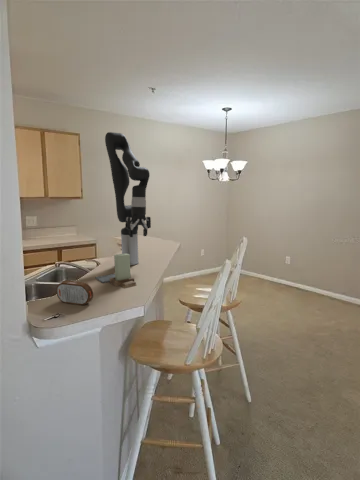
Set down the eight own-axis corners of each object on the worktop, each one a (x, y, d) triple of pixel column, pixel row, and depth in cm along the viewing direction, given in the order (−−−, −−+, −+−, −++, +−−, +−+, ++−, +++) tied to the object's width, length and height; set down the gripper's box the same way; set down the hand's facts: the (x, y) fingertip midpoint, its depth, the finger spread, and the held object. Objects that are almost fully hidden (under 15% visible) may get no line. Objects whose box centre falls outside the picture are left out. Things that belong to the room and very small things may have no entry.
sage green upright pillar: (115, 282, 145) (114, 254, 143) (127, 280, 148) (126, 253, 146) (118, 284, 142) (117, 256, 140) (130, 282, 145) (129, 254, 143)
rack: (109, 282, 145) (109, 278, 145) (127, 279, 150) (127, 275, 150) (116, 286, 139) (115, 281, 139) (134, 282, 144) (134, 278, 144)
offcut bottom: (120, 287, 140) (120, 285, 140) (133, 284, 144) (132, 282, 143) (124, 289, 137) (124, 287, 137) (136, 286, 141) (136, 284, 141)
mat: (95, 278, 153) (95, 277, 152) (122, 273, 160) (122, 272, 160) (102, 283, 144) (102, 281, 144) (130, 278, 152) (130, 276, 152)
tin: (94, 304, 118) (93, 282, 117) (89, 307, 115) (88, 284, 114) (61, 299, 123) (59, 279, 122) (55, 302, 120) (54, 281, 119)
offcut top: (122, 285, 140) (122, 283, 140) (132, 283, 143) (132, 280, 143) (125, 286, 137) (125, 284, 137) (135, 284, 141) (135, 282, 141)
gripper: (146, 205, 173) (145, 235, 175) (123, 205, 164) (122, 236, 166) (154, 206, 167) (153, 236, 169) (130, 206, 158) (130, 238, 160)
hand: (138, 236), depth 168 cm, fingers open, 8 cm apart
